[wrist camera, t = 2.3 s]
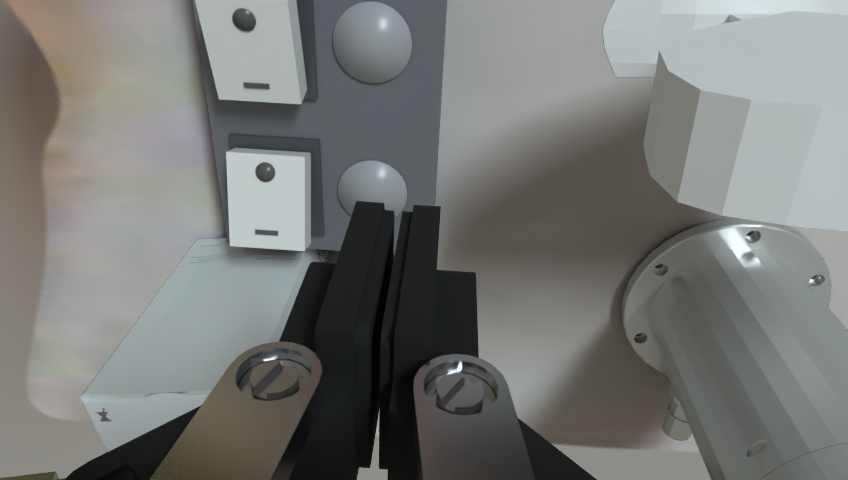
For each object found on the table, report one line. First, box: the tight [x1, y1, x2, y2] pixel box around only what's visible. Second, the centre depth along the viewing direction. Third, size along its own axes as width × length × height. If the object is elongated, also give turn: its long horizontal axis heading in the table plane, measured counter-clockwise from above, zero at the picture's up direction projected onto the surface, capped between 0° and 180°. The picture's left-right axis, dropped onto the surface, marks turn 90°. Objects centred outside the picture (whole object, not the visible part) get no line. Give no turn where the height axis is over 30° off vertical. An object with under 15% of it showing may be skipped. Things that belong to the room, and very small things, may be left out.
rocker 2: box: [226, 148, 311, 251], centre depth 32 cm, size 5×4×2 cm
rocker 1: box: [195, 0, 307, 104], centre depth 28 cm, size 5×4×2 cm
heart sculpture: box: [603, 0, 848, 231], centre depth 23 cm, size 16×5×18 cm, turn 92°
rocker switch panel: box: [192, 0, 447, 263], centre depth 32 cm, size 30×12×4 cm, turn 177°
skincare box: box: [80, 238, 320, 452], centre depth 34 cm, size 8×6×15 cm
